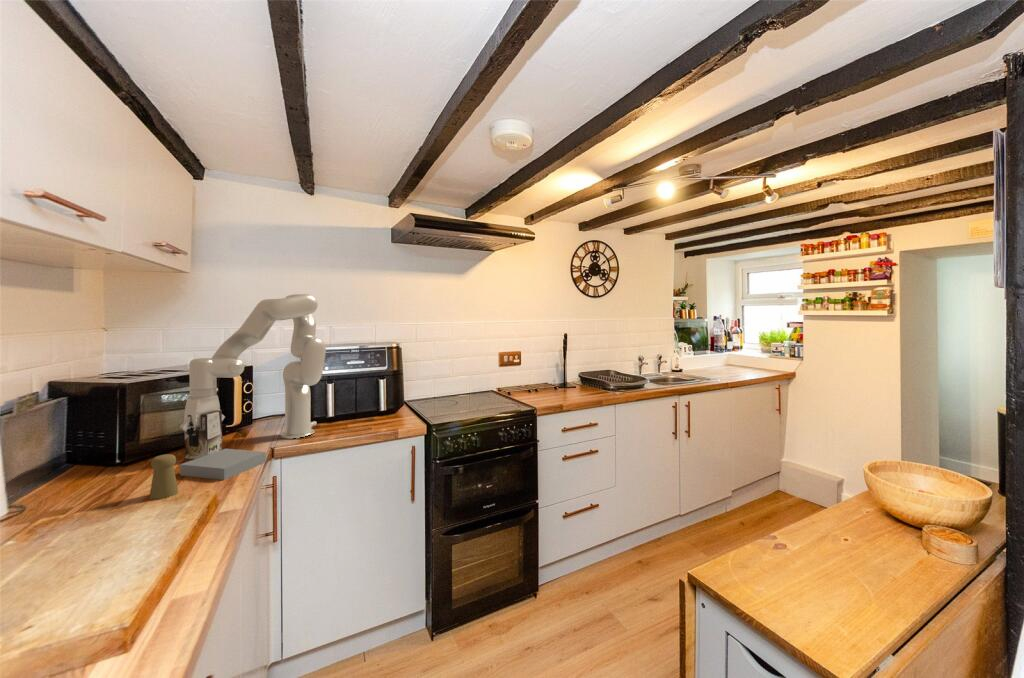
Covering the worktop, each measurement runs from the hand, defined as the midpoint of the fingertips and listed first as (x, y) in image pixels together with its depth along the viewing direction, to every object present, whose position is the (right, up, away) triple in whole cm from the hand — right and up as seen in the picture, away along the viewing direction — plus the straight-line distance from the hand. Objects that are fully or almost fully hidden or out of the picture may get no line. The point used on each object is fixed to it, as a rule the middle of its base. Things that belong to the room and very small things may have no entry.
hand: (203, 442), depth 139 cm
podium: (+15, -6, -10) cm, 19 cm away
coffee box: (0, -5, 0) cm, 5 cm away
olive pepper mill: (+13, -7, -30) cm, 34 cm away
